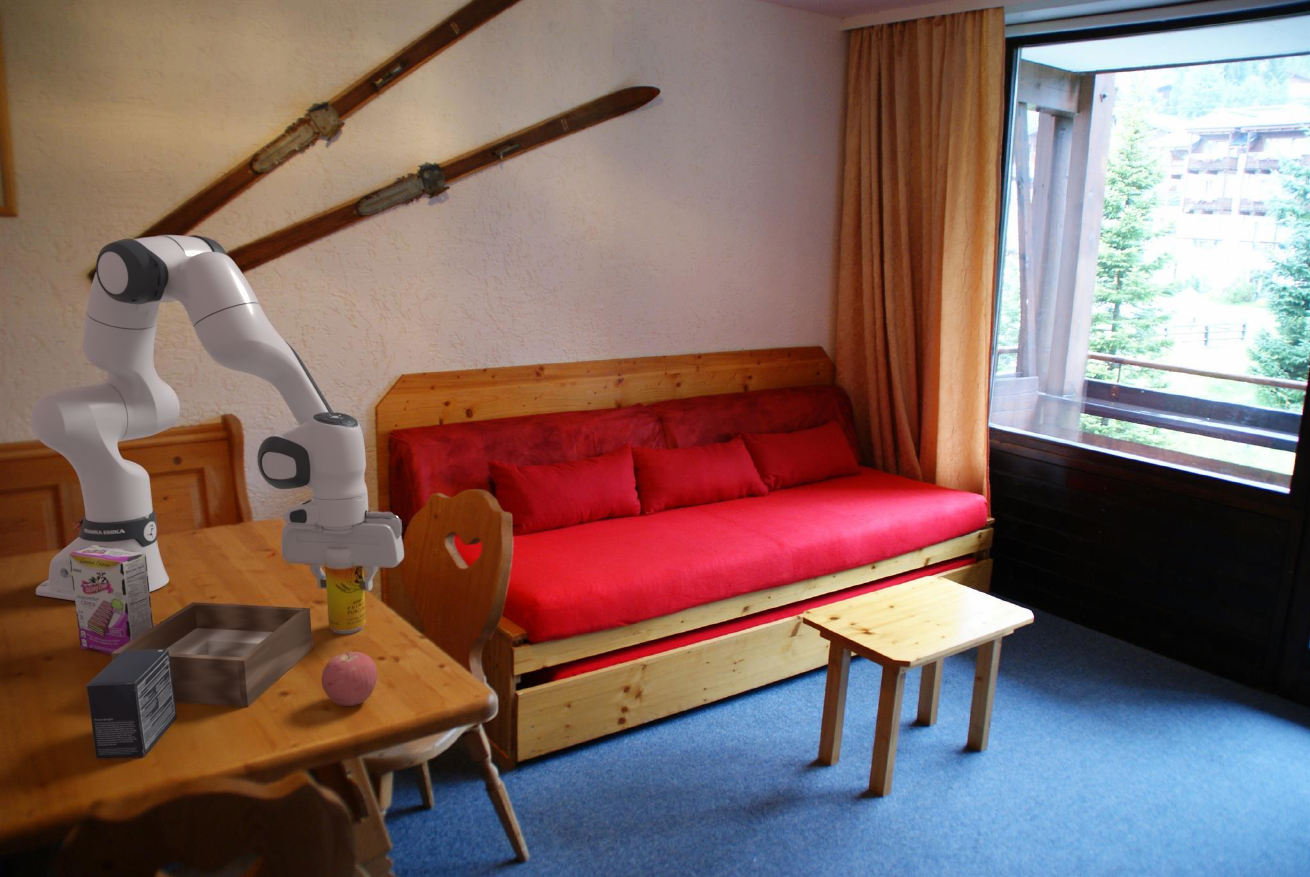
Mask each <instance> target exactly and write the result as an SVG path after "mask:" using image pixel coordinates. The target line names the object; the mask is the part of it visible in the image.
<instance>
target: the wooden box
mask: <svg viewBox="0 0 1310 877" xmlns="http://www.w3.org/2000/svg"><path fill="white" fill-rule="evenodd" d="M312 635H313V634H312V621H311V608H310V607H309V608H308V607H294V606H293V607H292V606H275V605H274V606H273V605H253V604H237V603H236V604H231V603H217V602H215V603H214V602H194V601H193V602H190V603H189V604H187V605H186V606H183V607H182V608H181V609H179V610H178V611H176V612H175V613H173V614H171V615H169V617H167V618H165V619H164V620H162V621H160V622H159V623H157V624H155V625H153V627H152V628H151V629H149V630H147V631H146V632H144V633H143V634H141V635H139V636H138V637H136V638H135V639H133V640H131V641H130V642H128V643H127V644H125V645H123V646H122V647H120V648H119V649H117V650H115V651H114V652H112V653H111V654H110V655H111V660H112V661H113V660H114V659H115V658H116V657H117V656H118V655H119V654H121V653H122V652H123V651H129V650H149V649H169V658H170V667H171V675H172V685H173V694H174V701H175V703H184V704H198V705H199V704H200V705H213V706H214V705H217V706H231V707H246V708H248V707H250V706H251V705H252V704H253V703H254V702H255V701H256V700H257V699H259V697H261V696H262V695H263V694H264V693H265V692H266V691H268V689H269V688H271V687H272V686H273V685H274V684H275V683H277V682H278V680H280V679H281V678H282V677H283V676H285V675H286V673H287V672H289V671H290V670H291V669H292V668H293V667H294V666H295V665H296V664H297V663H299V662H300V661H301V660H302V659H303V658H304V657H305V656H306V655H308V654H309V653H310V652H311V651H312V650H313V636H312ZM112 661H111V662H112Z"/></svg>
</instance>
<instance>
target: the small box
mask: <svg viewBox="0 0 1310 877" xmlns="http://www.w3.org/2000/svg"><path fill="white" fill-rule="evenodd" d="M86 692H87V699H88V705H89V706H88V707H89V714H90V721H91V728H92V736H93V738H92V739H93V744H94V746H93V747H94V752H95V753H94V754H95V759H96V760H97V759H99V760H102V759H124V758H125V759H126V758H127V759H128V758H144V757H146V756H147V754H149V752H150V751H151V750H152V749H153V747H154V746H155V745H156V744H157V743H158V742H159V740H160V739H161V738H162V737H163V735H164V734H165V733H166V732H167V731H168V729H169V728H170V727H171V726H172V725H173V724H174V722H175V721H176V719H178V715H177V714H178V713H177V707H176V704H175V703H176V702H175V701H174V694H173V685H172V675H171V667H170V658H169V649H149V650H129V651H123V652H122V653H121V654H119V655H118V656H117V657H116V658H115V659H114V660H113V661H111V662H109V664H107V665H106V666H105V667H104V668H103V669H102V670H101V671H100V672H99V673H97V674H96V675H95V676H94V677H93V678H92V679H91V680H90V681H89V682H88V683H87V684H86Z"/></svg>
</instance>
